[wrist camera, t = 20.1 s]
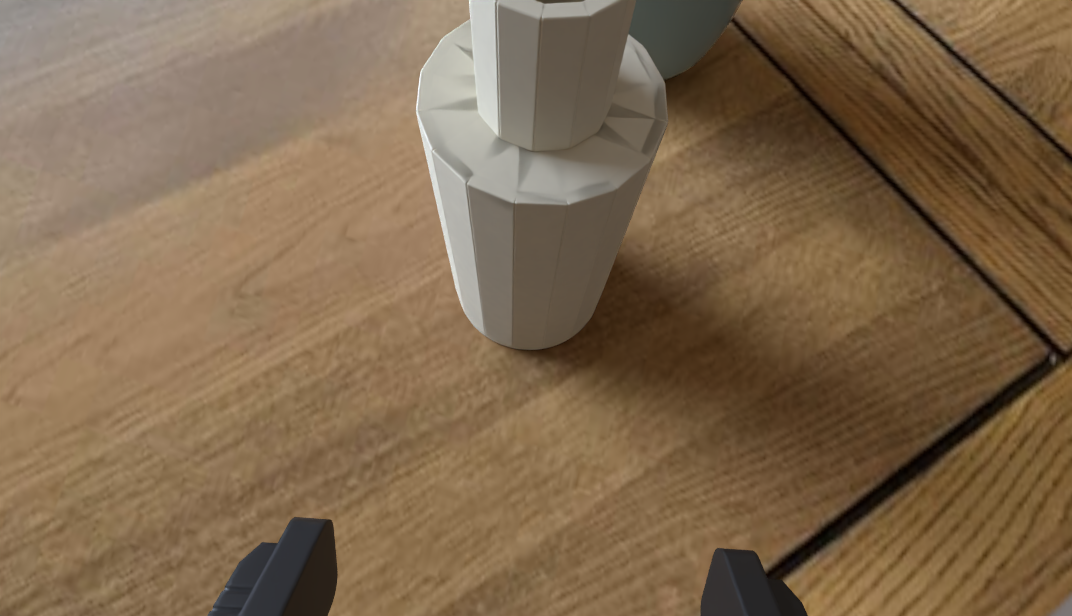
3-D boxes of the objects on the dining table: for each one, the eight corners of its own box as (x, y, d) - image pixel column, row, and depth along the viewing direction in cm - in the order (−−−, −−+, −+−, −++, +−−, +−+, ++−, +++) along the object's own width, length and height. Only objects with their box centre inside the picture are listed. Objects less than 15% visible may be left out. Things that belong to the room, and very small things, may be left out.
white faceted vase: (620, 250, 27) (758, -99, 12) (567, 373, 25) (655, 134, 10) (494, 199, 28) (476, -191, 13) (432, 315, 25) (321, 8, 10)
